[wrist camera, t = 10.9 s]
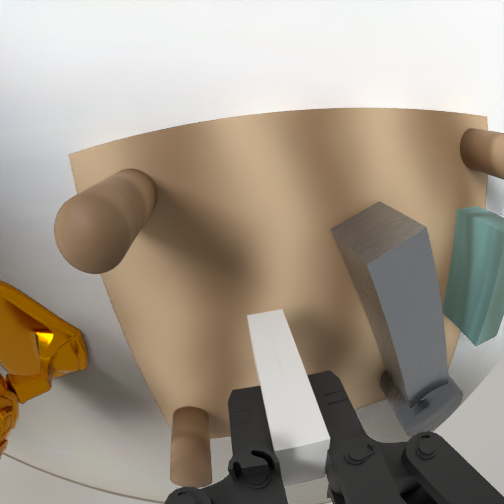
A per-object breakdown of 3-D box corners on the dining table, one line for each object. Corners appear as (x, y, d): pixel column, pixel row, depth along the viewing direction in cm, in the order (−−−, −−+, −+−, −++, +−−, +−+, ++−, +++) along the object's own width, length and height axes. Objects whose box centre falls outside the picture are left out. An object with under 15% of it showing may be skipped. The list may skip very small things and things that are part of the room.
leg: (433, 371, 20) (461, 409, 16) (385, 401, 20) (409, 443, 16) (392, 193, 14) (451, 222, 10) (315, 237, 14) (354, 283, 10)
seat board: (178, 426, 21) (177, 498, 15) (81, 151, 13) (4, 174, 7) (437, 364, 22) (475, 414, 16) (470, 114, 14) (551, 127, 8)
